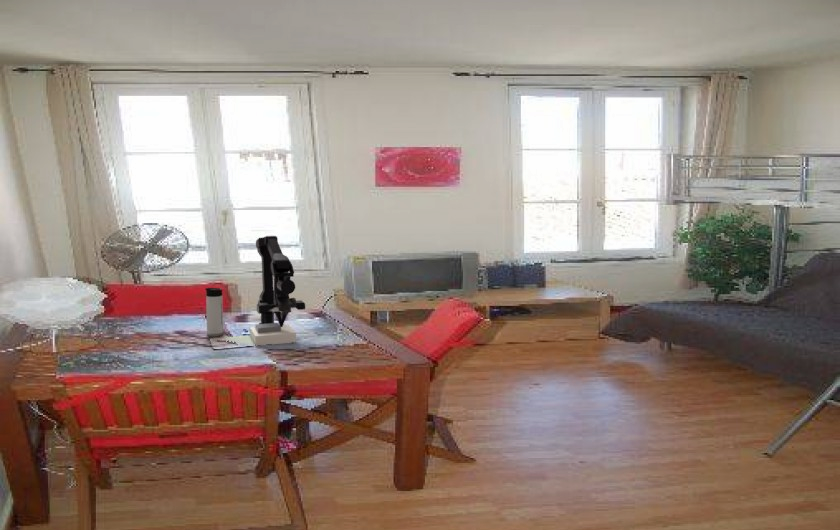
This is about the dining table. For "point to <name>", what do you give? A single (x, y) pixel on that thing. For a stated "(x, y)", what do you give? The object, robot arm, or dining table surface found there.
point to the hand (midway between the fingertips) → (281, 326)
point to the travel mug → (214, 311)
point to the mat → (236, 339)
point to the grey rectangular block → (267, 327)
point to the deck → (274, 336)
